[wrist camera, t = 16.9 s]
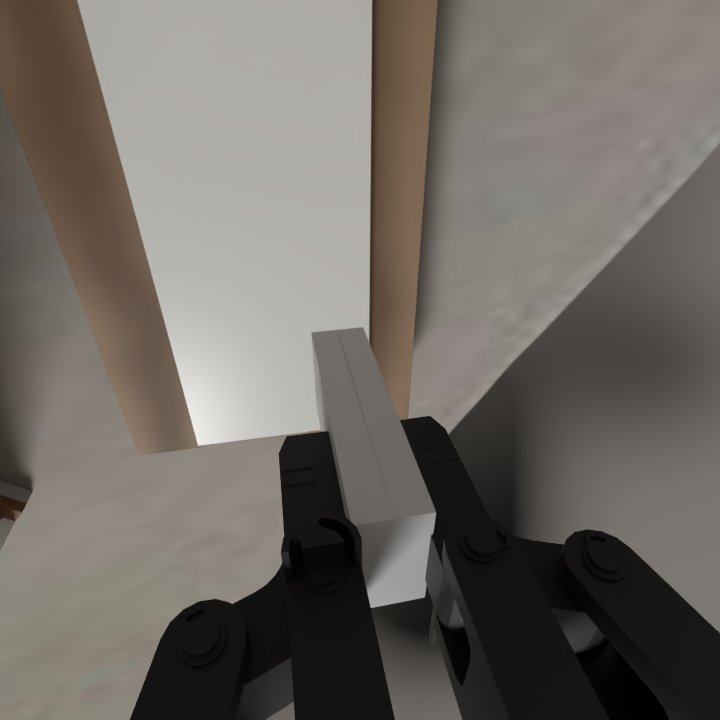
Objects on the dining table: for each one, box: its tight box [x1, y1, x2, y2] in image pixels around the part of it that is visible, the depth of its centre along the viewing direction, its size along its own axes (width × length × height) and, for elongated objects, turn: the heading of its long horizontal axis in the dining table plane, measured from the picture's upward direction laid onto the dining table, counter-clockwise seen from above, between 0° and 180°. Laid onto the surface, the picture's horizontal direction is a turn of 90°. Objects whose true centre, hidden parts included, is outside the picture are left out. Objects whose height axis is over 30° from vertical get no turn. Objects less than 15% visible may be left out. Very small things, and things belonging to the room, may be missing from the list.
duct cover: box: [77, 0, 372, 446], centre depth 24 cm, size 11×26×1 cm, turn 0°
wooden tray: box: [0, 0, 438, 455], centre depth 26 cm, size 18×28×5 cm, turn 0°
